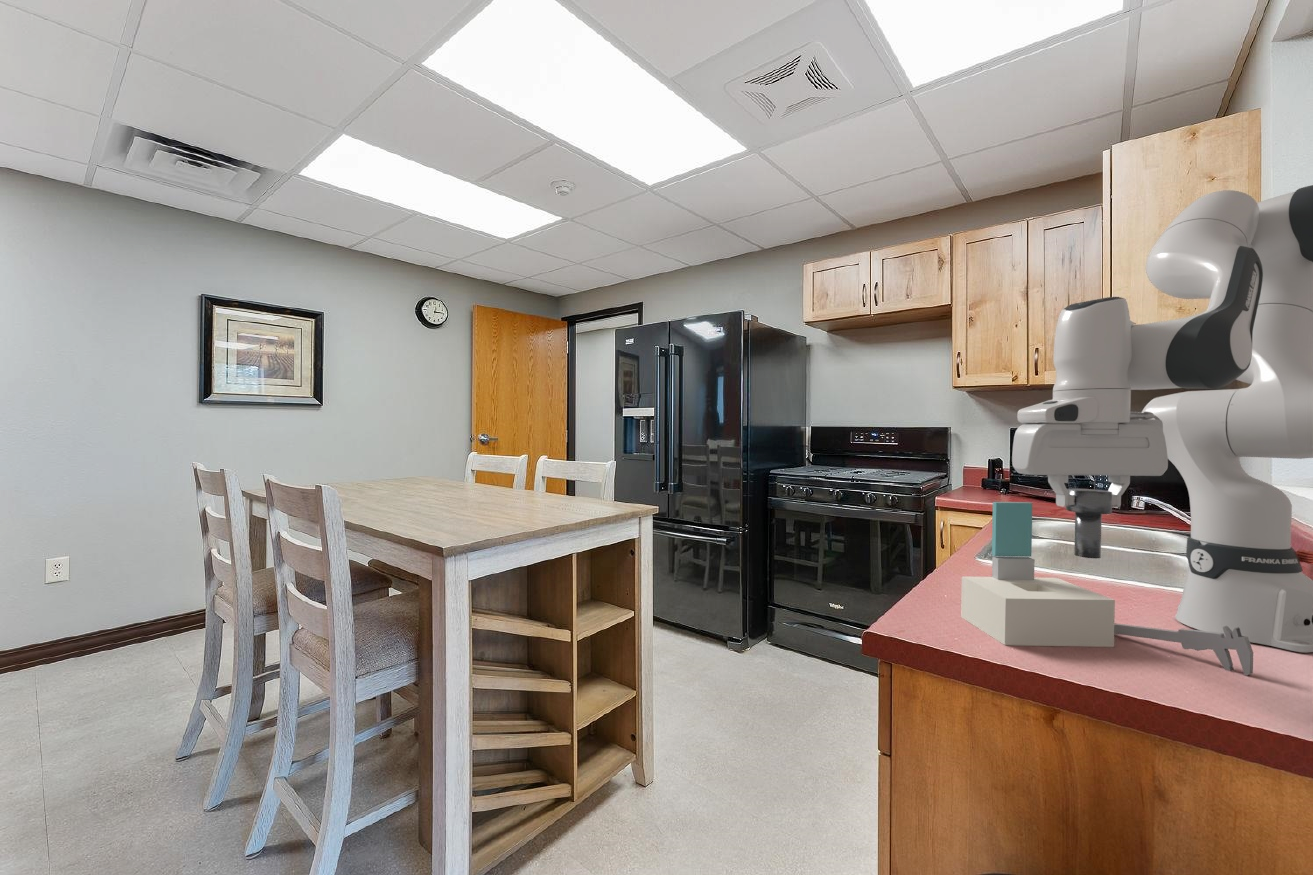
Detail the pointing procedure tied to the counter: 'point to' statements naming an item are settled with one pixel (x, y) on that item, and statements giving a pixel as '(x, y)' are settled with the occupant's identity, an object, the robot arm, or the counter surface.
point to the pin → (1089, 520)
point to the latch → (1012, 529)
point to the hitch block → (1036, 608)
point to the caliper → (1200, 642)
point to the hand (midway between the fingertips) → (1087, 506)
